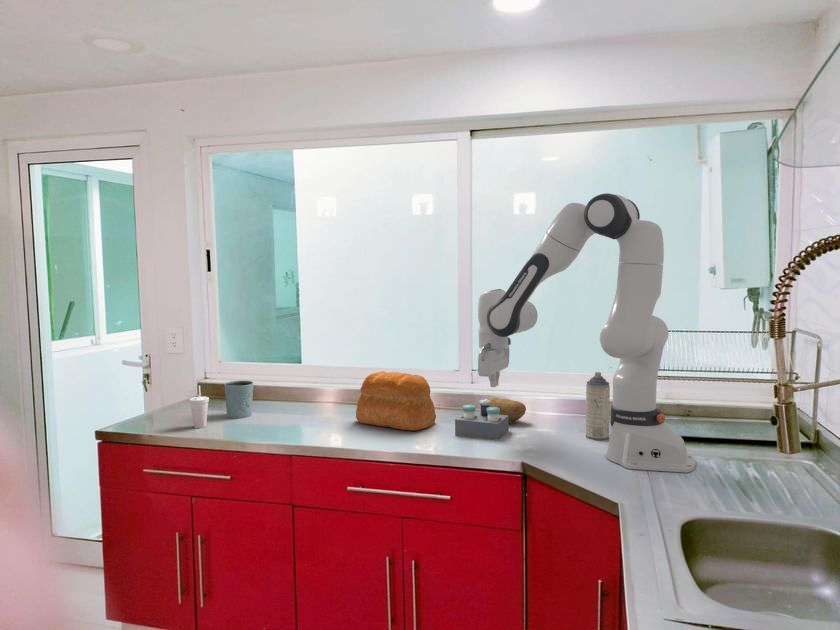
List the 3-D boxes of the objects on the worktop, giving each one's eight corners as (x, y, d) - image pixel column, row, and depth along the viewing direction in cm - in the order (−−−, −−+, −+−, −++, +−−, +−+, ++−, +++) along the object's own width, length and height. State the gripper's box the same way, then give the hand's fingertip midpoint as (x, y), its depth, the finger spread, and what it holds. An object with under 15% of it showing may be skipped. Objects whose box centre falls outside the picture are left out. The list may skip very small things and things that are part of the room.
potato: (520, 428, 193) (520, 404, 192) (480, 423, 200) (480, 399, 199) (530, 421, 201) (530, 397, 201) (491, 416, 208) (491, 394, 208)
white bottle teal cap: (501, 430, 186) (501, 407, 185) (497, 433, 182) (497, 410, 182) (489, 428, 188) (489, 406, 187) (485, 432, 184) (484, 409, 184)
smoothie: (213, 424, 203) (211, 383, 202) (205, 429, 196) (203, 387, 195) (195, 424, 203) (193, 383, 202) (186, 429, 197) (184, 387, 196)
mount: (508, 430, 190) (508, 400, 189) (498, 440, 180) (498, 408, 179) (467, 426, 196) (467, 396, 195) (455, 435, 186) (454, 404, 185)
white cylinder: (477, 427, 189) (477, 405, 189) (472, 430, 186) (472, 408, 185) (465, 426, 191) (465, 404, 191) (461, 429, 188) (460, 407, 187)
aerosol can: (613, 439, 179) (614, 373, 177) (593, 441, 177) (593, 375, 176) (601, 433, 186) (601, 370, 184) (581, 435, 184) (582, 371, 182)
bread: (416, 434, 188) (415, 380, 187) (351, 423, 202) (350, 373, 200) (440, 422, 201) (440, 372, 200) (378, 413, 215) (377, 366, 214)
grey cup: (223, 414, 217) (222, 381, 216) (252, 411, 221) (251, 379, 220) (227, 420, 208) (226, 386, 207) (256, 417, 212) (255, 384, 211)
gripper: (492, 346, 172) (493, 393, 173) (512, 338, 191) (513, 381, 191) (471, 345, 175) (473, 392, 176) (493, 338, 193) (494, 380, 194)
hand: (494, 386), depth 184 cm, fingers closed
